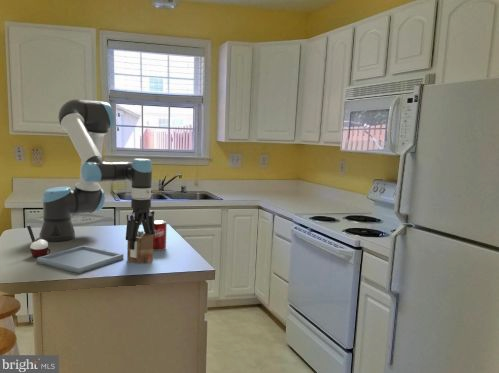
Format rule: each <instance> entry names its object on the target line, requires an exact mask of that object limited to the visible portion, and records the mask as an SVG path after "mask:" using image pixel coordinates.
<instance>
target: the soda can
mask: <svg viewBox="0 0 499 373" xmlns="http://www.w3.org/2000/svg"><path fill="white" fill-rule="evenodd" d="M167 229H168V228H167V222H166V220H154V230H155V234H154V235H153V251H154V252H155V251H164V250H165V249H166V248H167Z"/></svg>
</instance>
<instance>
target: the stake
mask: <svg viewBox="0 0 499 373" xmlns="http://www.w3.org/2000/svg"><path fill="white" fill-rule="evenodd" d="M143 233H145V232H144V230H138V237H143Z"/></svg>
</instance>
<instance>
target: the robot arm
mask: <svg viewBox="0 0 499 373" xmlns="http://www.w3.org/2000/svg"><path fill="white" fill-rule="evenodd" d="M57 117H58V118H57V119H58V123H59V125H60V127H61V128H62V130H64V131H65V132H66V133H67V134H68V137H69V139H70V140H71V142H72V145H73V147H74V148H75V150H76V152H77V155H79V158H80V159H81V160H80V170H79V179H78V182H76V183H75V185H74V189H72V188H71V187H70V186H57V187H50V188H48V189H46V190H45V191H44V192H43V197H42V207H43V208H42V209H43V211H42V212H43V216H42V217H43V219H42V220H43V221H42V225H41V228H40V232H39V234H38V236H39V238H38V240H40V239H43V240H45V241H47V242H55V243H56V242H66V241H70V240H73V239H75V238H76V231H75V229H74V225H73V222H72V215H76V214H77V215H78V214H79V215H80V214H88V213H89V214H93V213H98V212H99V211H101V210H102V209H103V207H104V205H105V201H106V196H105V191H104V189H103V188H102V186H101V185H100V183H101V182H126V181H127V182H129V181H130V182H131V190H130V191H131V201H130V204H131V205H130V206H131V208H132V212H131V214H127V215H126V220H127V221H126V228H125V229H126V230H125V231H126V232H125V241H127V242H128V241H130V257H133V258H137V241H136V237H137V233H138V231H139V229H140V225H141V224H142V228H143V232H144V233H145V234H150V235H154V234H155V230H154V221H155V210H154V211H153V210H150V209H151V208H152V199H151V197H152V181H153V180H152V178H153V177H152V176H153V167H152V165H153V164H152V160H151V159H150V158H133V159H132V161H131V162H130V161H123V160H122V161H115V162H114V161H113V162H112V161H105V159H104V157H103V156H102V155H103V146H104V140H105V139H104V136H105V135H107V134H108V132H109V129H111V128H113V127H114V124H115V121H116V120H115V112H114V110H113V107H112V106H111V104H110V103H109V102H105V101H101V100H100V101H99V100H88V99H79V98H75V99H70V100H68V101H66V102H65V103H63V104H62V105H61V107H60V109H59V112H58V116H57Z"/></svg>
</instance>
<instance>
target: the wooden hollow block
mask: <svg viewBox="0 0 499 373" xmlns="http://www.w3.org/2000/svg"><path fill="white" fill-rule="evenodd" d="M136 241H137V258H133V257H130V241H128V240H127V246H126V247H127V253H126V254H127V258H126V260H127V261H128V262H133V263H135V264H143V263H147V264H149V263H152V262H153V258H154V250H153V235H150V234H145V232H144V233H143V237H138V233H137V237H136Z"/></svg>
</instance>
